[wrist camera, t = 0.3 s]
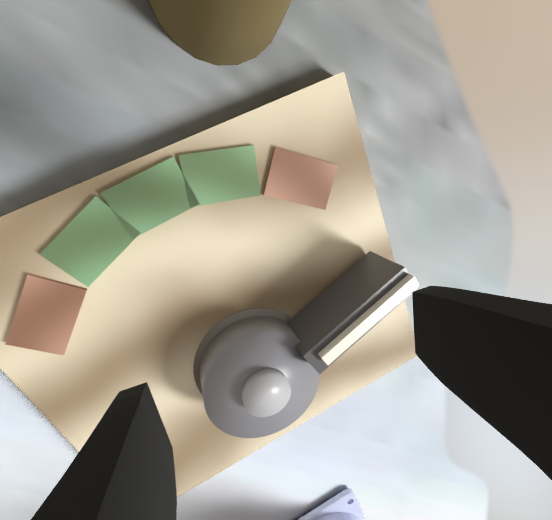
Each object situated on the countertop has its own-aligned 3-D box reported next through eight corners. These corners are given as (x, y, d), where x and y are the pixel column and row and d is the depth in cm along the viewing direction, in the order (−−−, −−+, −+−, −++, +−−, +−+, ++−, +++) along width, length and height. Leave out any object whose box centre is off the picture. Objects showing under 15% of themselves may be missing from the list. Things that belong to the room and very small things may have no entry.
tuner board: (409, 346, 24) (421, 355, 23) (142, 502, 21) (141, 521, 20) (334, 76, 17) (345, 70, 16) (-84, 252, 14) (-106, 261, 13)
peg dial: (246, 428, 20) (261, 479, 17) (175, 370, 17) (176, 418, 14) (398, 295, 20) (440, 320, 17) (350, 220, 18) (388, 234, 15)
